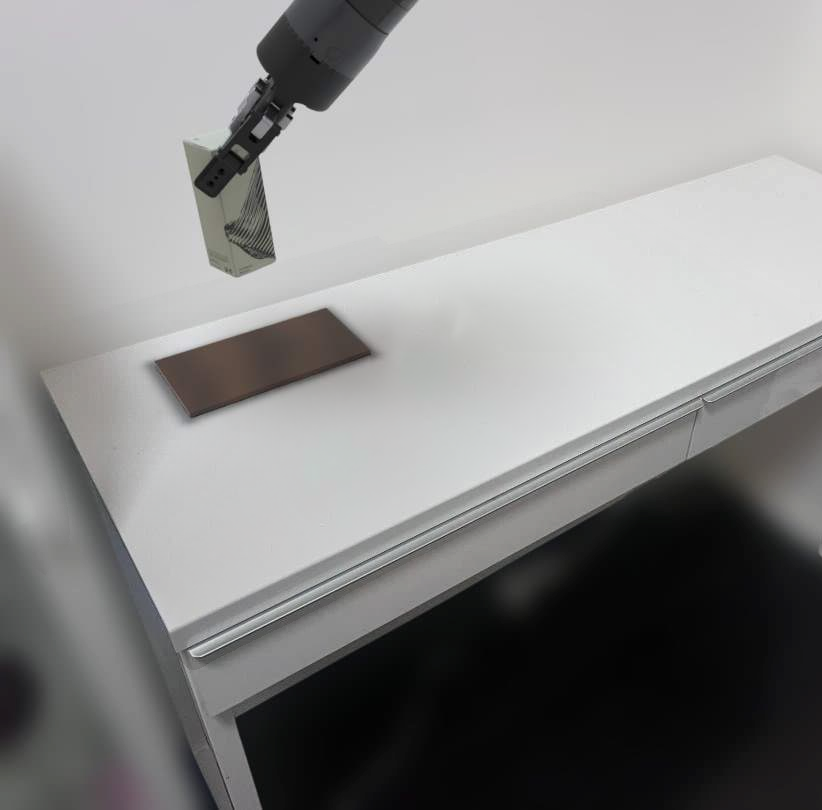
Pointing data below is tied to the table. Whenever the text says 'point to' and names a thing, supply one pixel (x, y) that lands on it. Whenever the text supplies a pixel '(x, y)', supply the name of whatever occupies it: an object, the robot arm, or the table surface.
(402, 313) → the table surface
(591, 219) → the table surface
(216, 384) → the walnut board
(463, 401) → the table surface
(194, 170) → the box
